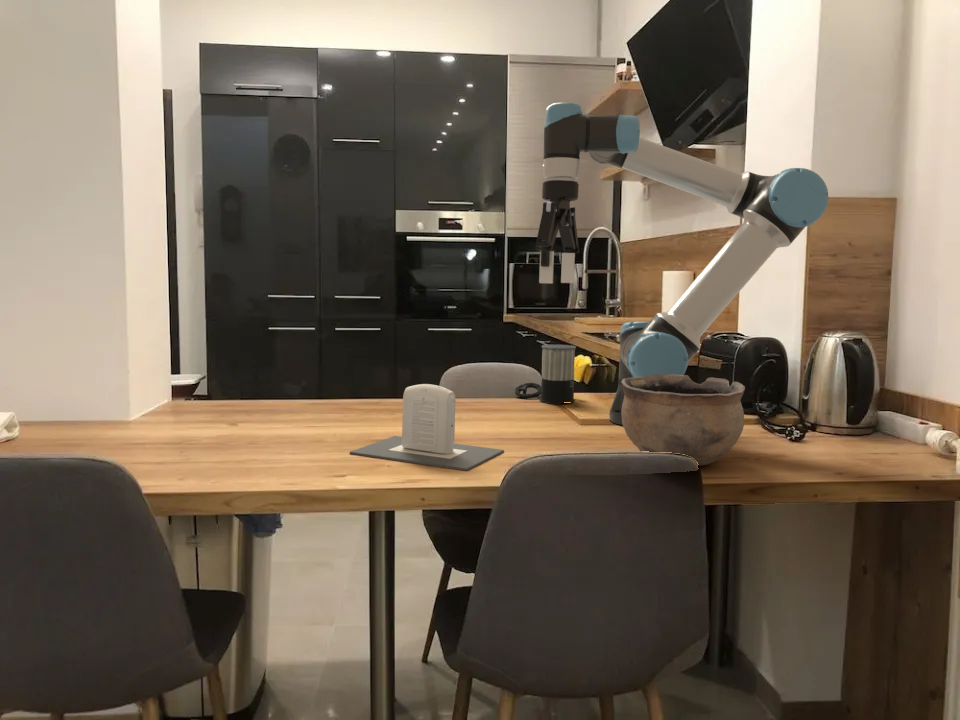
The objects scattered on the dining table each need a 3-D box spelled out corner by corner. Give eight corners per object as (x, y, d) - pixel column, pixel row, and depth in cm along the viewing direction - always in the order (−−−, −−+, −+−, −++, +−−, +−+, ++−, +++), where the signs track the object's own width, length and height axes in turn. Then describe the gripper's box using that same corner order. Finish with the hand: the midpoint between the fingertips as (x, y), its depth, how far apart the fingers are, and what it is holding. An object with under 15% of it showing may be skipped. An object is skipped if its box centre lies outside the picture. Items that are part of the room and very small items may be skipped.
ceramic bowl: (763, 464, 143) (768, 383, 141) (704, 485, 128) (709, 395, 126) (658, 443, 159) (662, 370, 157) (594, 460, 143) (597, 379, 141)
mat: (503, 451, 148) (504, 449, 148) (467, 470, 133) (467, 467, 133) (394, 437, 158) (394, 435, 158) (349, 453, 143) (349, 451, 143)
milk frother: (575, 405, 202) (577, 348, 200) (514, 403, 202) (516, 346, 201) (571, 396, 216) (573, 343, 214) (514, 394, 217) (516, 341, 215)
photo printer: (457, 451, 146) (459, 385, 144) (447, 455, 142) (448, 388, 140) (409, 444, 150) (410, 380, 148) (398, 449, 146) (399, 383, 144)
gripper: (563, 187, 176) (559, 282, 178) (521, 174, 153) (518, 282, 156) (595, 186, 173) (591, 283, 175) (557, 173, 150) (554, 284, 153)
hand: (557, 283), depth 165 cm, fingers open, 13 cm apart
